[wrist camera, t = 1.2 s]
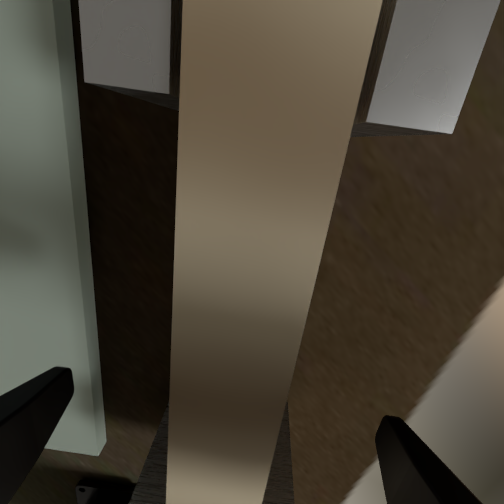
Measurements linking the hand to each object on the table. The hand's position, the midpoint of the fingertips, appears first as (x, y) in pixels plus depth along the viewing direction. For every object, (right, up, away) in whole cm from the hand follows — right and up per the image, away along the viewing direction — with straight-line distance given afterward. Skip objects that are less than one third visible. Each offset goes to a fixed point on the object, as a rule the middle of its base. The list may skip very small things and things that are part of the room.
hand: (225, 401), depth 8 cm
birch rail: (0, +1, +2) cm, 2 cm away
